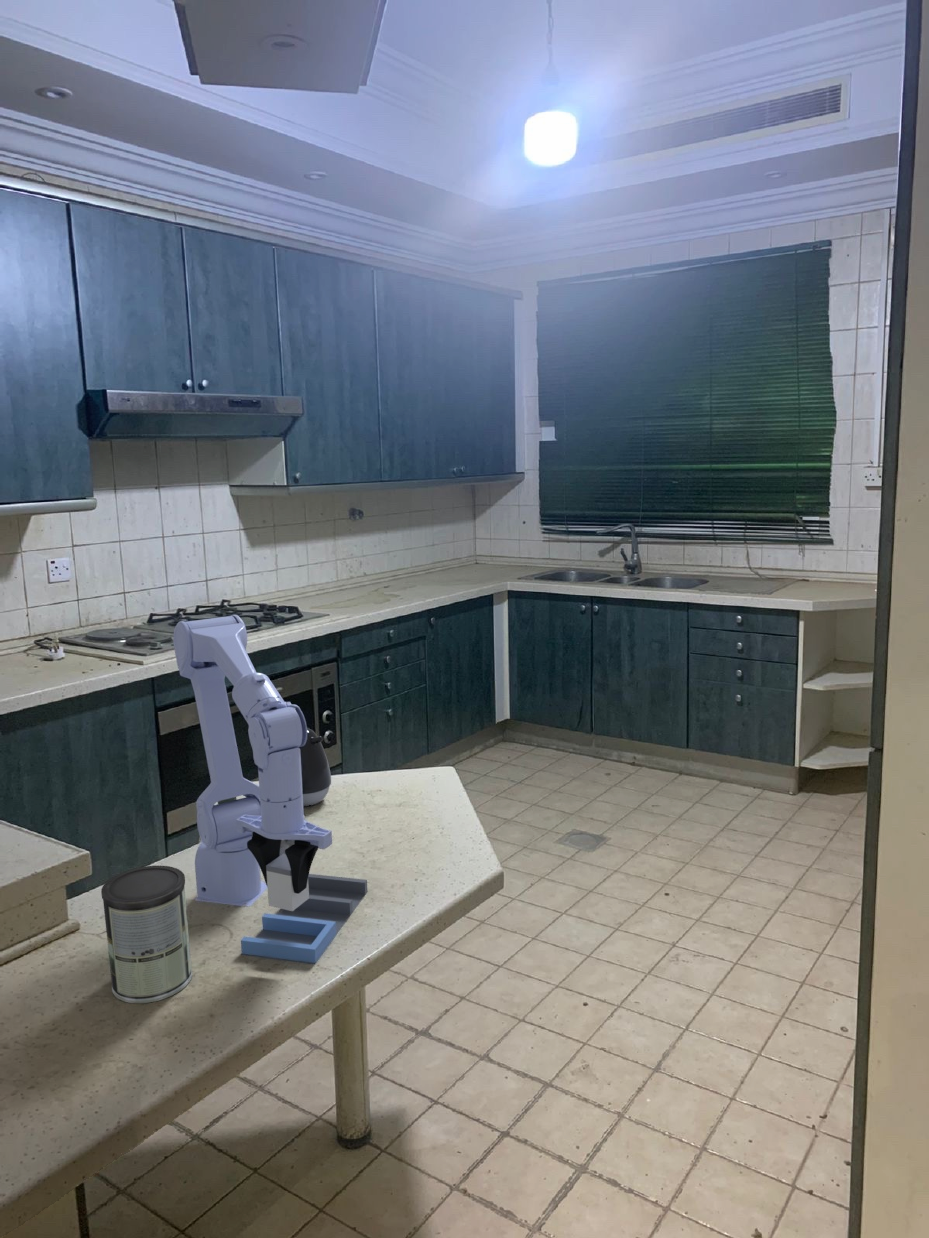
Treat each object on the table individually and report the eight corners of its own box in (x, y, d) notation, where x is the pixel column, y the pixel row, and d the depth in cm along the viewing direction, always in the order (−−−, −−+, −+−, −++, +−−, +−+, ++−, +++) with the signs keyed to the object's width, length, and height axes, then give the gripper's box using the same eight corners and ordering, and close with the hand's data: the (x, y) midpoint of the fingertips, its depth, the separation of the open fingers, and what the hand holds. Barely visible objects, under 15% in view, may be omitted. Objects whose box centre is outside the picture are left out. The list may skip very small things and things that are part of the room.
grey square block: (268, 905, 127) (266, 865, 126) (285, 892, 131) (283, 853, 130) (292, 911, 125) (290, 870, 124) (309, 898, 129) (307, 858, 128)
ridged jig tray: (241, 958, 127) (239, 941, 126) (303, 887, 147) (302, 872, 146) (315, 967, 124) (314, 950, 123) (368, 894, 144) (367, 878, 143)
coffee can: (95, 985, 121) (85, 886, 118) (164, 951, 129) (156, 857, 126) (138, 1014, 114) (129, 910, 112) (208, 977, 122) (201, 879, 120)
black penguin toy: (305, 815, 175) (301, 739, 172) (269, 803, 181) (264, 730, 178) (343, 799, 183) (340, 725, 180) (307, 788, 189) (303, 717, 186)
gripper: (342, 791, 125) (346, 883, 128) (256, 777, 131) (261, 865, 134) (313, 810, 119) (318, 907, 122) (224, 794, 125) (230, 886, 128)
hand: (286, 887), depth 127 cm, fingers closed on grey square block, 4 cm apart
